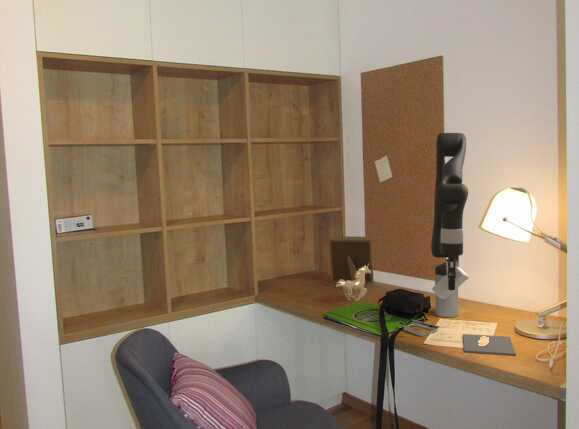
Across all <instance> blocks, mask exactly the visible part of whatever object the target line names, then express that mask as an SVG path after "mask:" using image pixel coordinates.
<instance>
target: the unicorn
mask: <svg viewBox="0 0 579 429" xmlns="http://www.w3.org/2000/svg"><path fill="white" fill-rule="evenodd" d="M368 265H369V263H368ZM365 273H369V274H370V273H371V270H369V269H368V266H365V265H364V267H361V268H360V269H358V271H357V272H356V274H355V275H356V276H354V277H356V278H355V279H356V280H355V281H350V280H347V281H345V280H343V279H341V280H339V281H338V282H337V283H336V285H335V288H342V289H343V292H344V297H345V298H346V299H347V300H348V302H352V300H351V299H354V300H355V302H358V301H360V300H361V298H363V297H364V296H365V295H366V293H367V291H368V289H367V288H366V287H365V285H366V284H365ZM358 290H359V291H360V292H359V295H358V297H357V298H356V297H355V296H354V295H352V294H353V291H358Z"/></svg>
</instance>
